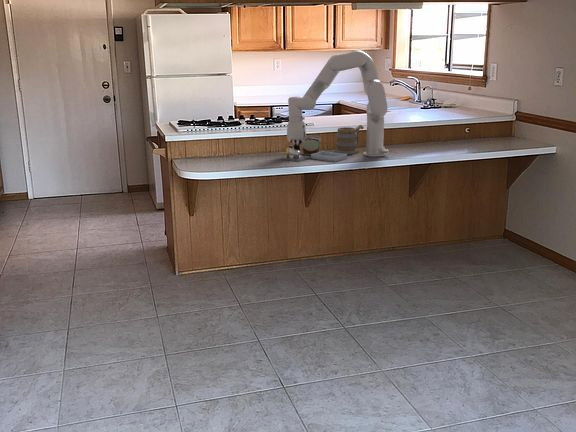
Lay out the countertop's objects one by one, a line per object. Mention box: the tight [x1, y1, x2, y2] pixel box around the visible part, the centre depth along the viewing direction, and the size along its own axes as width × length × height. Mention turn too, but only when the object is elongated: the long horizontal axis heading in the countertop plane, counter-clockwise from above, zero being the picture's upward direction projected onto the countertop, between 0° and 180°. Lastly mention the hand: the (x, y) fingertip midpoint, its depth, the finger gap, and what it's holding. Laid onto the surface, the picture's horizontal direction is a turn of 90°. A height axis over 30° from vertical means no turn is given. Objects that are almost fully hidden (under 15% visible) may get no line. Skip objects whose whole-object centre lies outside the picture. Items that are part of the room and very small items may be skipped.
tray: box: [310, 150, 348, 163], centre depth 334 cm, size 16×12×2 cm
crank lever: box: [288, 144, 301, 157], centre depth 337 cm, size 13×4×5 cm, turn 21°
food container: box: [301, 135, 322, 156], centre depth 348 cm, size 12×6×10 cm, turn 59°
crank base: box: [281, 147, 312, 163], centre depth 334 cm, size 13×12×6 cm
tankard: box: [334, 124, 364, 155], centre depth 353 cm, size 20×13×15 cm, turn 126°
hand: (297, 151), depth 342 cm, fingers closed
